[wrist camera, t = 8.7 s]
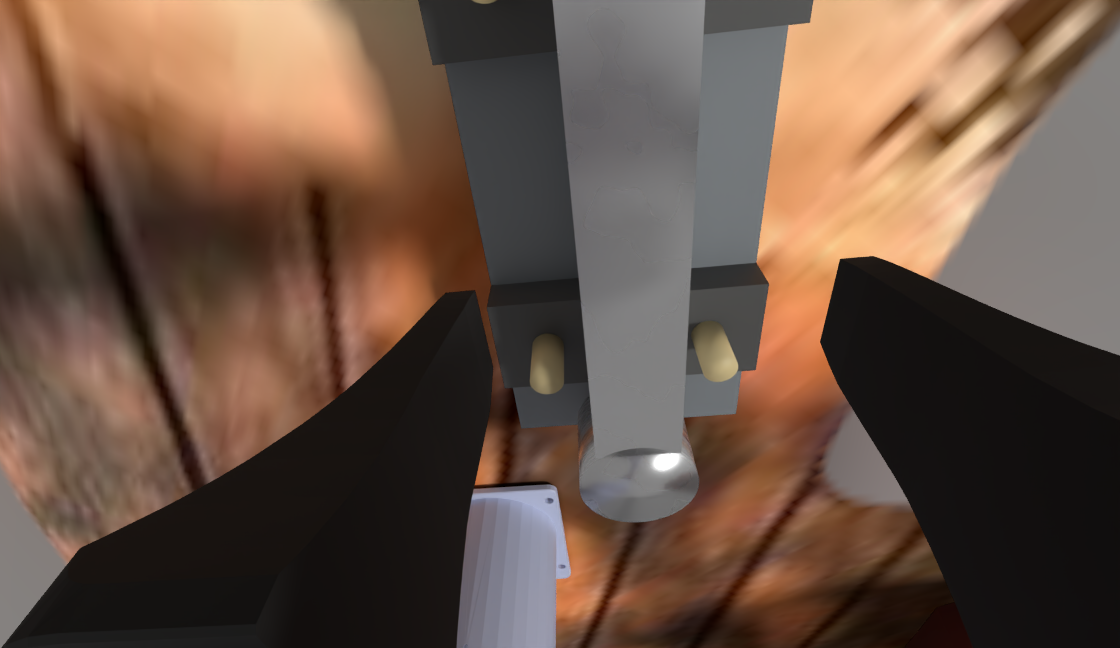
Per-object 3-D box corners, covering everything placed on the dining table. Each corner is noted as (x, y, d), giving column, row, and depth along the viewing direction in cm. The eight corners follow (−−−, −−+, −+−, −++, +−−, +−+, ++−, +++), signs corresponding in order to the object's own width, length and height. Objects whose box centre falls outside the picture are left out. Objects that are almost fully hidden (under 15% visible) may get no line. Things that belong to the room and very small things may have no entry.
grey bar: (679, 449, 23) (695, 519, 21) (581, 455, 24) (584, 525, 21) (724, -444, 9) (794, -612, 7) (480, -404, 10) (446, -547, 7)
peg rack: (727, 391, 25) (758, 476, 21) (523, 405, 26) (516, 490, 22) (822, -417, 11) (966, -615, 7) (373, -343, 12) (277, -487, 8)
